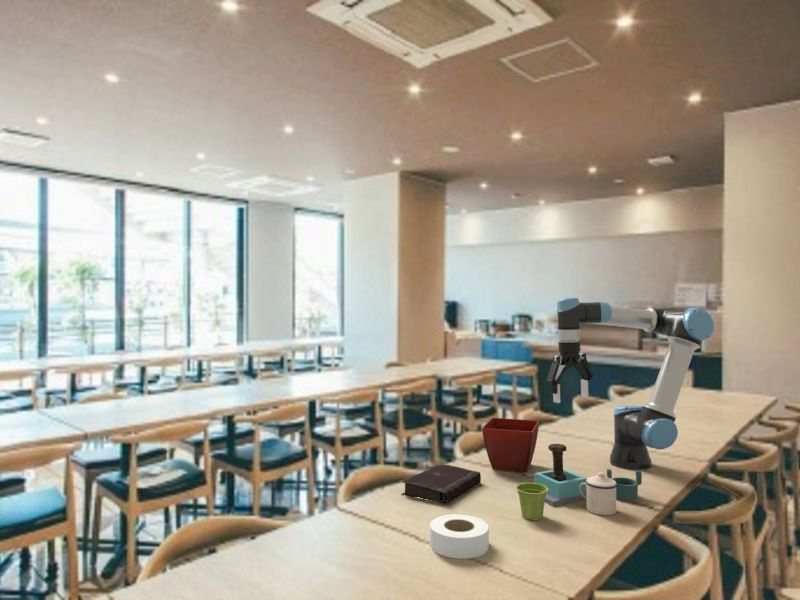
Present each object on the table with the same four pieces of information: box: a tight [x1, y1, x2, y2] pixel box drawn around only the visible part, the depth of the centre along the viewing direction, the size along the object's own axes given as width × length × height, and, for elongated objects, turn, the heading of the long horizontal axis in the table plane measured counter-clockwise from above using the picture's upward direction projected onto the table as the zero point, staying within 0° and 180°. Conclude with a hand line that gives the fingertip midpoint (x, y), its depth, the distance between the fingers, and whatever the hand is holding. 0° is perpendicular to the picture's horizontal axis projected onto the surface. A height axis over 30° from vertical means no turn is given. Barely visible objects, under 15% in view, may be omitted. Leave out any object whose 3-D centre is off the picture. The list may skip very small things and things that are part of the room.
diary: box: [400, 463, 482, 506], centre depth 190 cm, size 19×25×5 cm
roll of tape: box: [429, 513, 490, 560], centre depth 146 cm, size 16×16×6 cm
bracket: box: [606, 468, 643, 502], centre depth 181 cm, size 9×9×9 cm
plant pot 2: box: [515, 482, 548, 521], centre depth 165 cm, size 9×9×9 cm
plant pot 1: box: [481, 417, 540, 474], centre depth 213 cm, size 19×19×17 cm
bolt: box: [548, 443, 567, 482], centre depth 182 cm, size 6×5×15 cm
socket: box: [533, 468, 588, 507], centre depth 183 cm, size 18×13×6 cm
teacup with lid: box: [579, 471, 617, 517], centre depth 170 cm, size 12×9×12 cm
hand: (571, 400), depth 197 cm, fingers open, 13 cm apart
